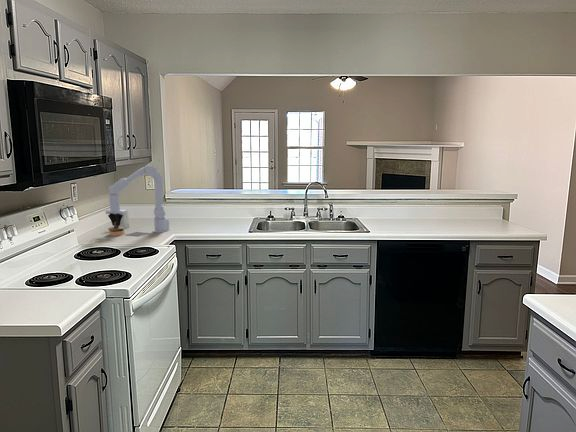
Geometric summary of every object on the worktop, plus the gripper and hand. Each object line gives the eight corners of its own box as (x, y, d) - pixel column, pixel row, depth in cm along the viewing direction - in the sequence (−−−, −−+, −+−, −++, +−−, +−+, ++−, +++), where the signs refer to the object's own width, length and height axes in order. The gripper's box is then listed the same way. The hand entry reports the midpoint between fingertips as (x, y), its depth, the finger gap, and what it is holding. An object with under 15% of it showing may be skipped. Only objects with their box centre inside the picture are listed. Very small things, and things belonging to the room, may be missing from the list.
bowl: (116, 233, 290) (116, 228, 290) (127, 234, 287) (127, 229, 286) (106, 235, 282) (105, 231, 282) (117, 236, 279) (117, 232, 278)
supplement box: (129, 227, 309) (128, 209, 307) (124, 229, 302) (123, 211, 300) (119, 227, 310) (118, 209, 308) (114, 229, 303) (112, 211, 301)
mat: (136, 232, 292) (136, 231, 291) (149, 233, 287) (149, 233, 287) (124, 235, 282) (124, 235, 282) (137, 237, 277) (137, 236, 277)
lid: (117, 227, 290) (116, 220, 290) (127, 228, 286) (127, 221, 285) (104, 229, 282) (104, 222, 281) (115, 231, 277) (115, 224, 277)
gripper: (101, 204, 281) (102, 225, 283) (118, 205, 275) (120, 227, 277) (109, 203, 287) (111, 223, 289) (127, 204, 281) (128, 225, 284)
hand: (116, 225), depth 284 cm, fingers closed on lid, 3 cm apart
